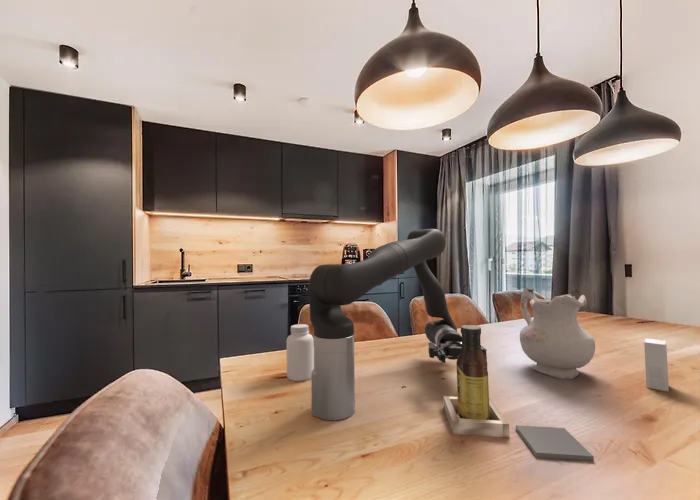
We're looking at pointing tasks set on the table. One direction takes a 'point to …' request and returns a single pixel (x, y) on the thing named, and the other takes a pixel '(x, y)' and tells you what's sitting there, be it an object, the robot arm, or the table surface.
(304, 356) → the pill bottle
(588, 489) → the table surface
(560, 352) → the ceramic pitcher
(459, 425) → the pocket frame
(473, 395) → the sauce bottle
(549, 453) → the coaster
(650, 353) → the skincare box
